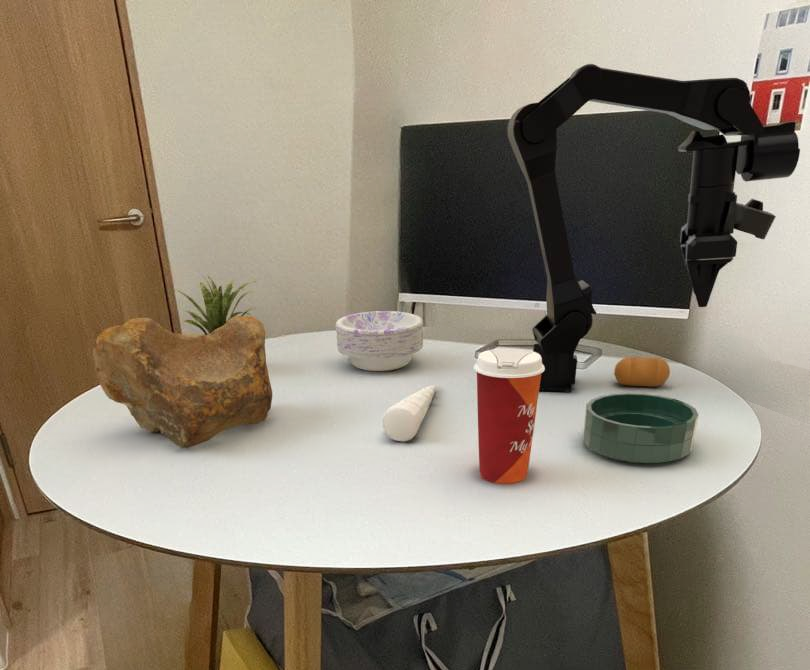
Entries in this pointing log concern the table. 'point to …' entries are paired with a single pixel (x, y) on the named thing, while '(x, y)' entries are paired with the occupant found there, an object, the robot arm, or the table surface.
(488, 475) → the paper cup
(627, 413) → the green pet bowl
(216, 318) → the house plant
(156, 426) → the rough brown rock
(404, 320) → the paper bowls
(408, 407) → the unicorn horn
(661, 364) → the bread roll
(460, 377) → the table surface
